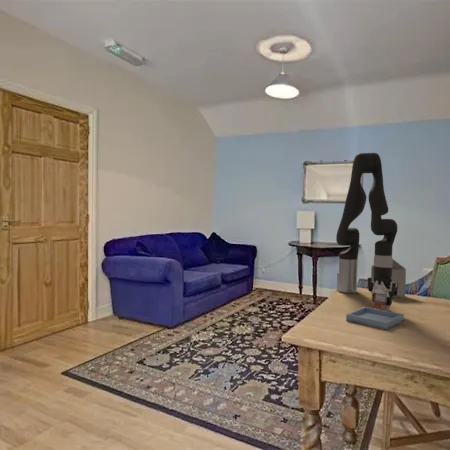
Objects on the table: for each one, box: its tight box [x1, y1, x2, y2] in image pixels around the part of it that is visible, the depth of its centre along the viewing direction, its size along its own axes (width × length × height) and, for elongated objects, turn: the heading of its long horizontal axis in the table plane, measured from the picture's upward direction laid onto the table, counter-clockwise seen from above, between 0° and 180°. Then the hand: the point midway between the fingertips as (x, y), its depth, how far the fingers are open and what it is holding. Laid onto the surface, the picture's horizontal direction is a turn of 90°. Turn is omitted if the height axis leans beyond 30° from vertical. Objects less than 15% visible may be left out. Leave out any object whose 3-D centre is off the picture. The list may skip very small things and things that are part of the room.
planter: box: [370, 259, 407, 298], centre depth 194 cm, size 16×8×19 cm, turn 59°
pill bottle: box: [373, 284, 390, 311], centre depth 167 cm, size 6×6×11 cm
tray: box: [345, 306, 405, 331], centre depth 152 cm, size 16×16×2 cm
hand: (381, 303), depth 167 cm, fingers closed on pill bottle, 6 cm apart
